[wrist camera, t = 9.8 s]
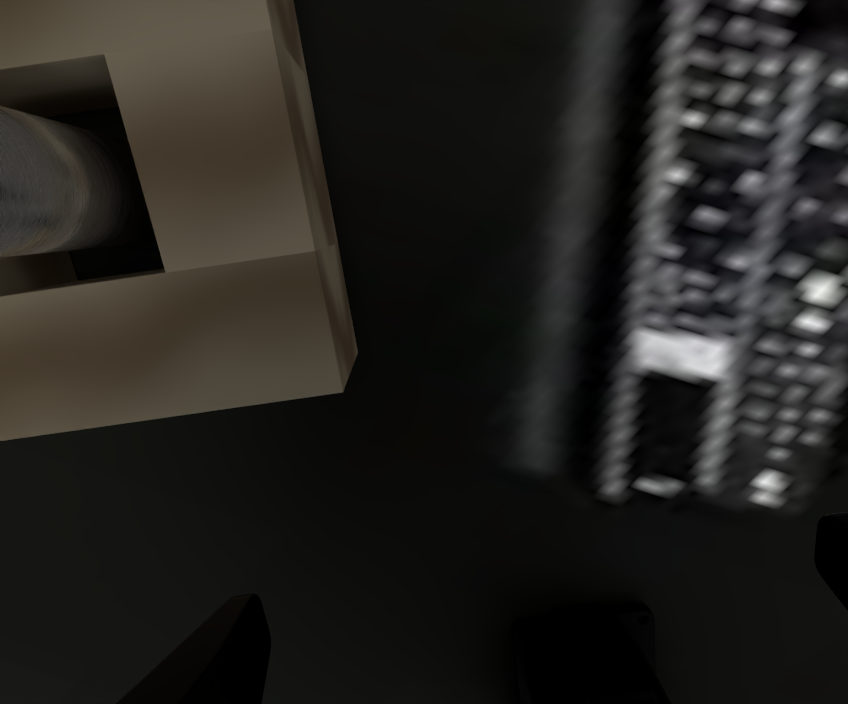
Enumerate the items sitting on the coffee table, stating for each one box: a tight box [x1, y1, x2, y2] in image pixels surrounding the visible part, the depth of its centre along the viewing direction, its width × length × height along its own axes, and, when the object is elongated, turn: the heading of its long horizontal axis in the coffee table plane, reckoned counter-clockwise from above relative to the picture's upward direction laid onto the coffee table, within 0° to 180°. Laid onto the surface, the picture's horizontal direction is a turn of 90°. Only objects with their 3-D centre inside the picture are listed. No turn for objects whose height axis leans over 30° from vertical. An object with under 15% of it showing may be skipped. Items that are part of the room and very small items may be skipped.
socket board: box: [0, 0, 358, 441], centre depth 15 cm, size 14×14×4 cm
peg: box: [0, 106, 156, 257], centre depth 13 cm, size 4×4×8 cm
